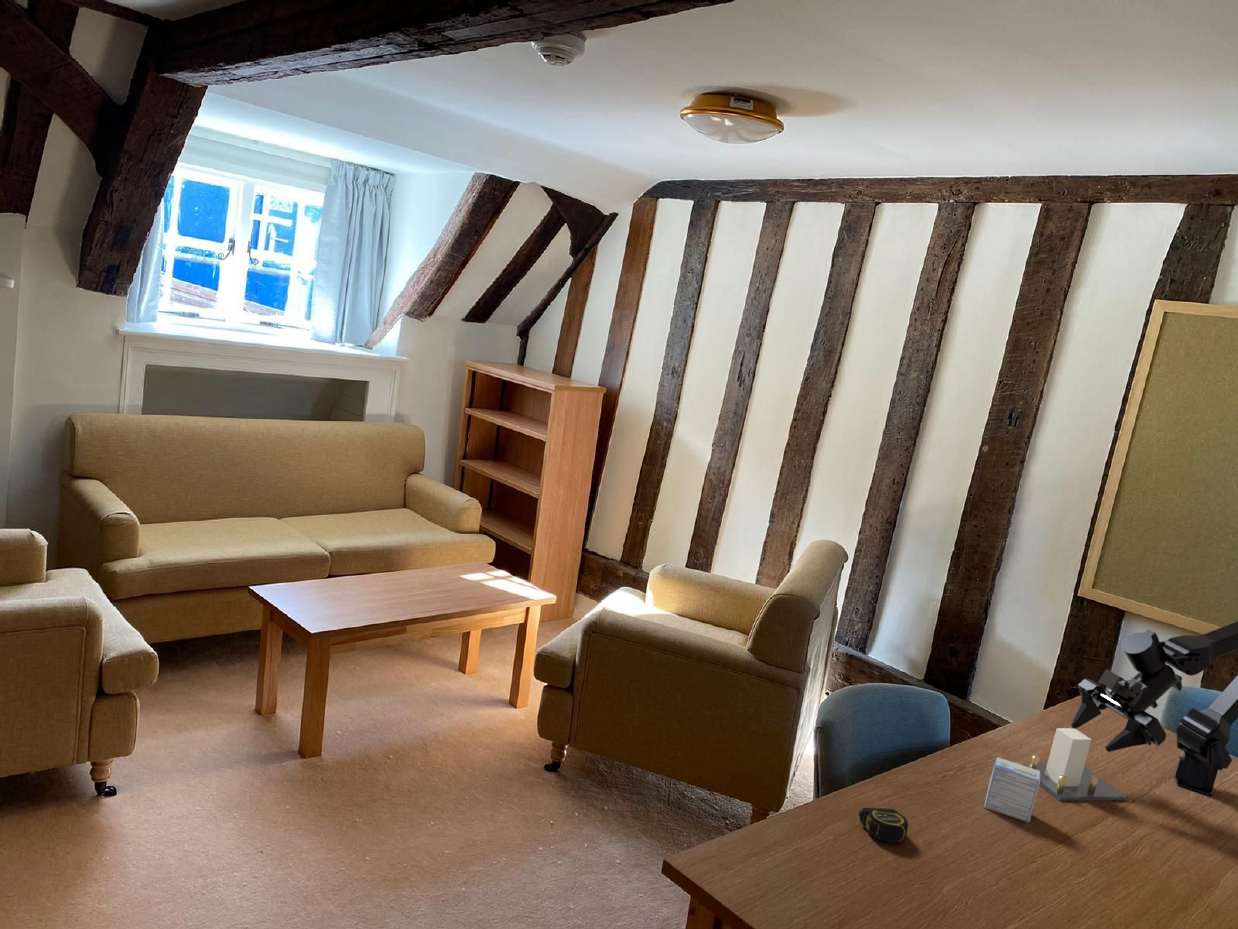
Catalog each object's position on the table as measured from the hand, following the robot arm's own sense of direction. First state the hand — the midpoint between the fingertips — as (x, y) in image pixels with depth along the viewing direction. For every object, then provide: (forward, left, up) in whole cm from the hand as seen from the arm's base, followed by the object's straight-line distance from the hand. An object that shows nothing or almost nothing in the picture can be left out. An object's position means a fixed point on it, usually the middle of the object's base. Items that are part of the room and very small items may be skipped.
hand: (1089, 738), depth 190 cm
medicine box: (+11, +24, -10) cm, 28 cm away
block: (+3, +3, -9) cm, 10 cm away
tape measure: (+28, +49, -10) cm, 57 cm away
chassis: (+1, +1, -10) cm, 10 cm away
